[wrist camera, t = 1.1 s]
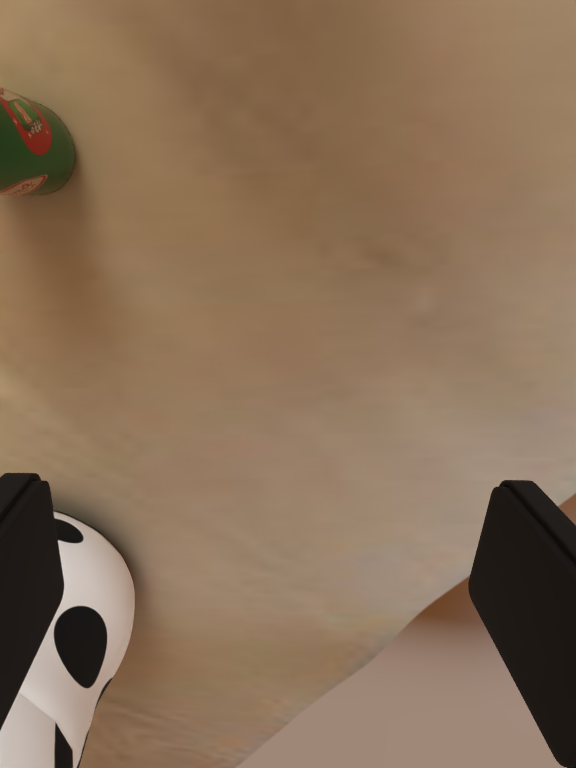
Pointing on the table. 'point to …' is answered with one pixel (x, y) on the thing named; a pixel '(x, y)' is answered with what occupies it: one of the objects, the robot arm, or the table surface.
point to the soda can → (32, 147)
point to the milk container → (72, 653)
